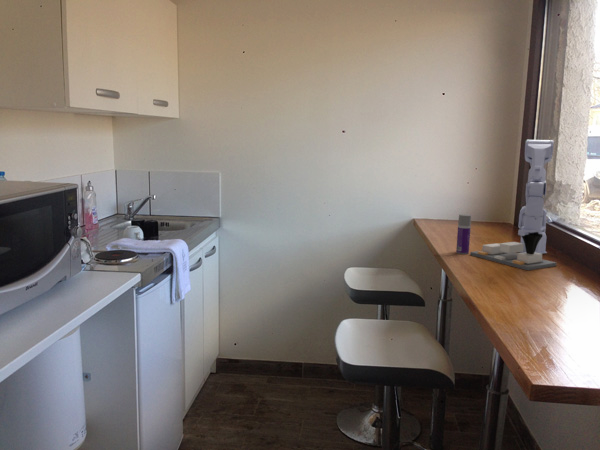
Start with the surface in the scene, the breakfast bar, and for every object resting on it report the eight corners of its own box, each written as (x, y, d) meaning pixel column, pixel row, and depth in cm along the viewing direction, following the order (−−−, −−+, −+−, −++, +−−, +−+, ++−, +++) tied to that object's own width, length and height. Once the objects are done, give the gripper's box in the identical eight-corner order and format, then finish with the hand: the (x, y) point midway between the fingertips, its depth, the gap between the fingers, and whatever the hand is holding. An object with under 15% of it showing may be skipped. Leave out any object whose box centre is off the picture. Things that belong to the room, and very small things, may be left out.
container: (469, 254, 204) (472, 216, 202) (456, 253, 205) (459, 215, 203) (468, 252, 209) (470, 214, 206) (455, 251, 210) (458, 213, 207)
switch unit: (497, 251, 211) (497, 246, 211) (556, 265, 188) (556, 260, 188) (470, 255, 204) (470, 249, 203) (527, 270, 181) (528, 264, 181)
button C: (531, 258, 192) (531, 251, 192) (541, 261, 189) (542, 253, 188) (517, 261, 189) (517, 253, 188) (527, 263, 185) (528, 255, 185)
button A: (495, 250, 206) (496, 243, 206) (505, 252, 202) (505, 245, 202) (482, 252, 203) (482, 244, 202) (491, 254, 199) (491, 247, 198)
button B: (513, 249, 199) (514, 241, 198) (523, 251, 195) (524, 243, 195) (499, 250, 195) (500, 243, 195) (509, 253, 192) (509, 245, 191)
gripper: (534, 212, 193) (530, 249, 196) (511, 215, 185) (508, 254, 187) (552, 215, 188) (549, 252, 190) (530, 218, 179) (526, 257, 182)
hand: (530, 253), depth 188 cm, fingers closed, pressing on button C
